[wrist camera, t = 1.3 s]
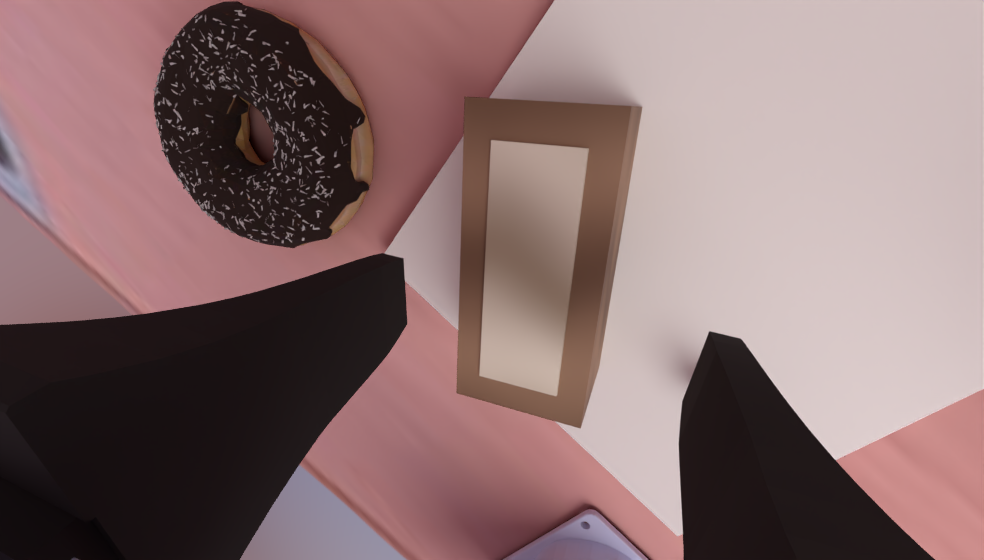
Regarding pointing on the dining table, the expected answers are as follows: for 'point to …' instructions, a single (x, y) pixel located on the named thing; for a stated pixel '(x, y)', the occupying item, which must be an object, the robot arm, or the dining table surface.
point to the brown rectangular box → (539, 249)
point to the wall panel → (766, 211)
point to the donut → (289, 113)
